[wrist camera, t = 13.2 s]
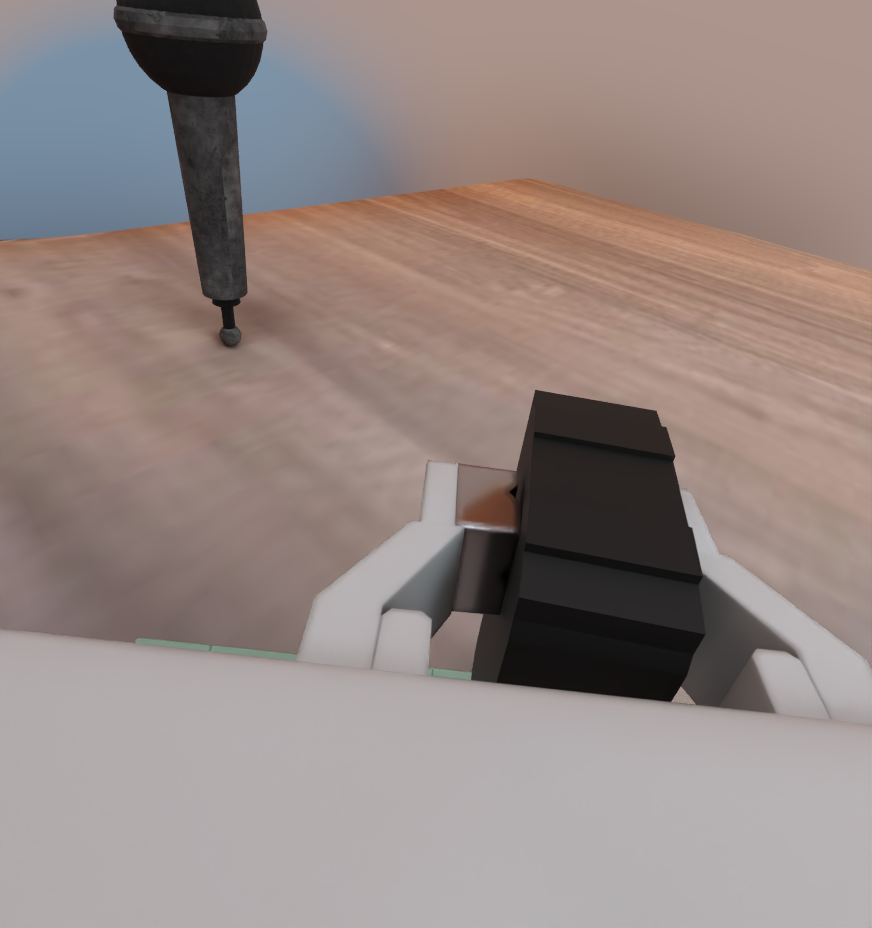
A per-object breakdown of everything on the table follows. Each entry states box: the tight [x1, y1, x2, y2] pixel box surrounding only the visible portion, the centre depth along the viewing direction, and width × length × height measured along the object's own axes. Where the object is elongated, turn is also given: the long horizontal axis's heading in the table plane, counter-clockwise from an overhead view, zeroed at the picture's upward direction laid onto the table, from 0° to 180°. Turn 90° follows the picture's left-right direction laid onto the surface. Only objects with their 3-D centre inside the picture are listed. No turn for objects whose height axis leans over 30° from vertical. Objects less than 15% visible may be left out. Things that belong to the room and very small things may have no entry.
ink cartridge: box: [471, 390, 706, 702], centre depth 11 cm, size 5×2×8 cm, turn 170°
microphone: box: [114, 0, 267, 346], centre depth 33 cm, size 7×7×20 cm
